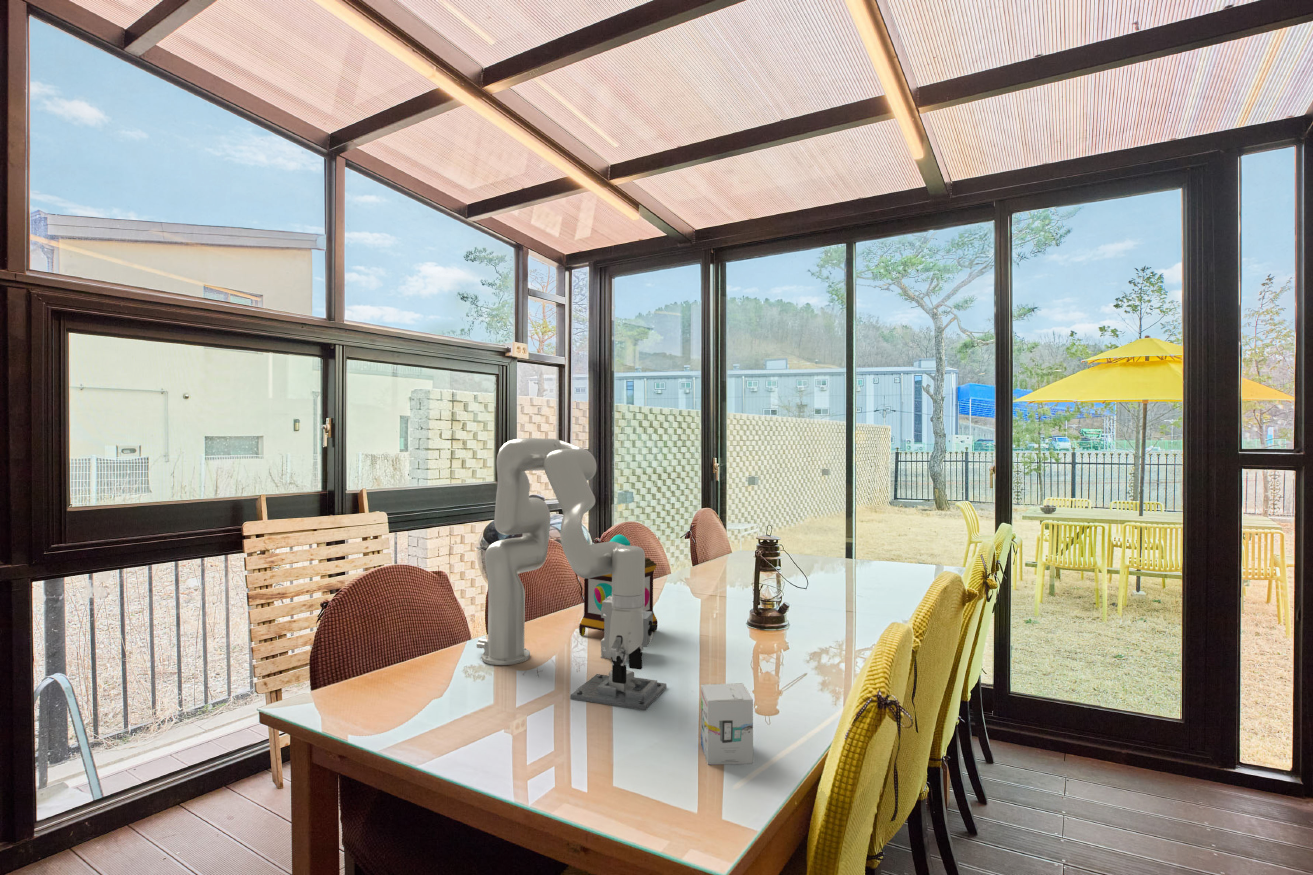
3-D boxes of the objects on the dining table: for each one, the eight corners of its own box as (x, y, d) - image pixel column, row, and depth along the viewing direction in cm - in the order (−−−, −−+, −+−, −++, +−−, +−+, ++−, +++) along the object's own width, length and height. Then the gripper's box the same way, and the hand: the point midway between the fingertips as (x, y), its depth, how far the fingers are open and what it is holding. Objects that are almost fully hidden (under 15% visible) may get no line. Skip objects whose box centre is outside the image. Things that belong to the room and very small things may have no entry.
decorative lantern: (664, 630, 202) (664, 533, 202) (627, 647, 185) (627, 541, 185) (611, 621, 212) (612, 528, 213) (572, 635, 196) (572, 535, 196)
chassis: (570, 698, 147) (570, 687, 147) (596, 677, 160) (597, 667, 160) (645, 710, 141) (645, 698, 141) (666, 687, 154) (666, 677, 154)
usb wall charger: (619, 683, 154) (619, 666, 154) (643, 690, 150) (643, 672, 150) (608, 688, 151) (608, 671, 151) (632, 695, 147) (632, 677, 147)
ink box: (699, 743, 126) (700, 682, 126) (743, 742, 126) (743, 681, 126) (707, 765, 117) (707, 700, 117) (753, 763, 118) (754, 698, 118)
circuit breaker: (652, 661, 173) (653, 604, 173) (600, 657, 176) (601, 601, 176) (658, 652, 180) (658, 598, 180) (608, 649, 183) (608, 595, 183)
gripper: (627, 591, 160) (626, 661, 160) (597, 607, 143) (596, 686, 143) (656, 593, 157) (655, 665, 157) (629, 611, 141) (628, 690, 141)
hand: (627, 675), depth 150 cm, fingers open, 9 cm apart
